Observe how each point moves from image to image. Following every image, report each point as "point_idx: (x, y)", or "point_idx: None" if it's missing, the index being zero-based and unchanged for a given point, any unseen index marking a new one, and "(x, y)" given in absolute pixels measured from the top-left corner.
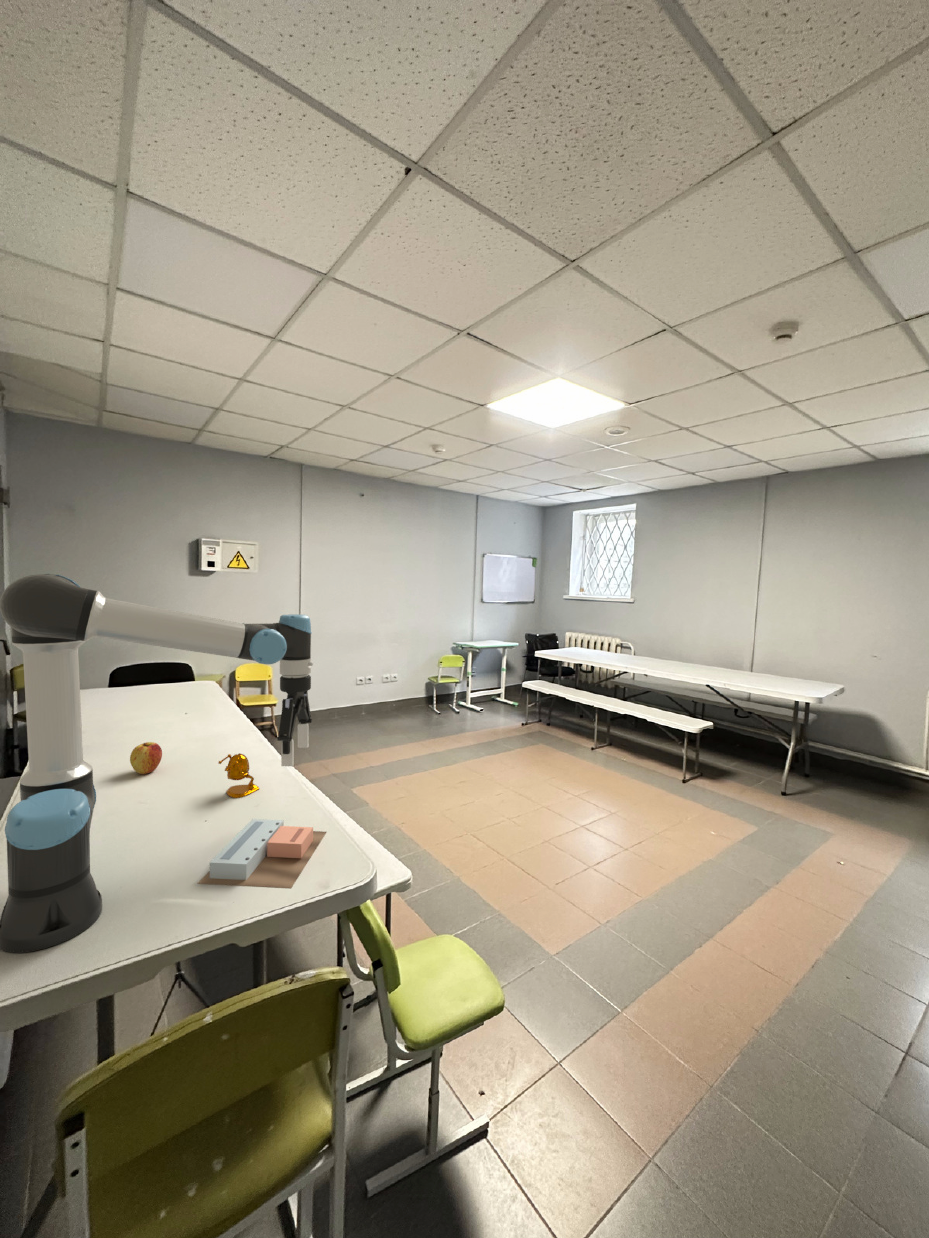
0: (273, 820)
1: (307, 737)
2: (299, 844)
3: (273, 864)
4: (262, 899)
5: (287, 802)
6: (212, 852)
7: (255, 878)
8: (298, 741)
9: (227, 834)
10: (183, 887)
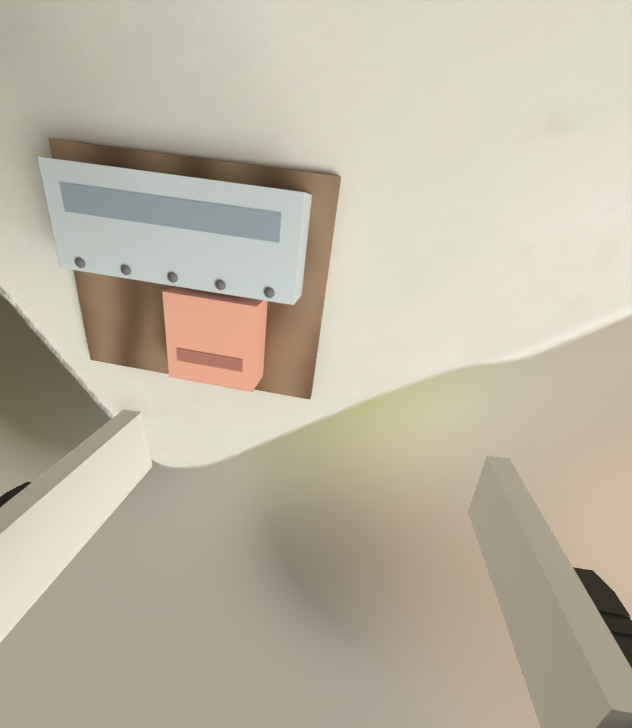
0: (292, 272)
1: (496, 587)
2: (169, 371)
3: (158, 306)
4: (63, 310)
5: (554, 247)
6: (209, 97)
7: (101, 281)
8: (502, 499)
9: (321, 96)
10: (46, 98)
